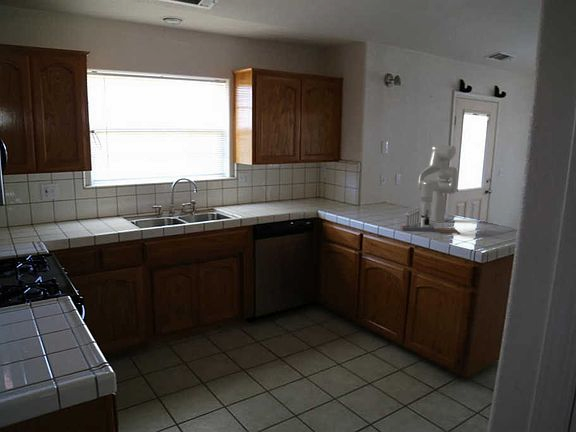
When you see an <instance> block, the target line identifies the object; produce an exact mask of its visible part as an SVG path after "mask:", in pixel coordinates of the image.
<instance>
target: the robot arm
mask: <svg viewBox="0 0 576 432" xmlns="http://www.w3.org/2000/svg"><path fill="white" fill-rule="evenodd" d="M456 149H457V148H456V147H455V145H444V144H436V145H435V144H434V145H432V146H431V148H430V150H431V152H430V157H429V162H428V166H427V167H426V168H424V169H423V170H422V172H421V173H420V174H419V177H418V180H417V189H418V190H419V191H421V195H420V202H421V204H420V212H419V215H421V217H420V219H421V218H424V216H425V221H424V225H429V226H430V222H435V223H444V222H446V221H447V219H446V218H445V213H446V212H445V210H446V197H445V195H444V194H451V195H452V194H455V193H456V192H457V184H458V183H457V182H458V169H457V168H456V167H454V166H448V162H449V161H450V162H451V161H452V160H453V158H454V157H455V155H456V152H457V150H456ZM432 174H434V175H435V178H436V179H438V180H434V179H433V180H432V179H425V178H426V177H427V176H429V175H432ZM426 216H427V217H426ZM430 216H431V217H430Z"/></svg>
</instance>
